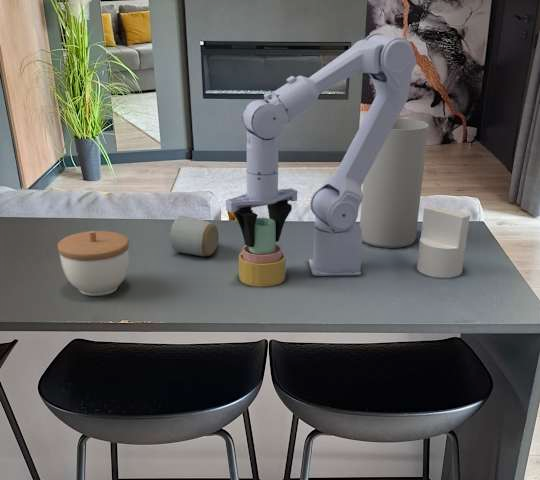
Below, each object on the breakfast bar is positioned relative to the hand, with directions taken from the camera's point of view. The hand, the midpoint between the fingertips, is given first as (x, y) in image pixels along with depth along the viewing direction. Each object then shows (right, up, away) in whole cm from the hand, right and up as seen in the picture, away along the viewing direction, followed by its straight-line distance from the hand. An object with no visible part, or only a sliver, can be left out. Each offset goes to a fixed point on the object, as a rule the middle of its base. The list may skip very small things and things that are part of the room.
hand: (262, 242), depth 135 cm
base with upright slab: (+36, -4, +8) cm, 37 cm away
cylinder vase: (+28, +4, +24) cm, 37 cm away
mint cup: (0, -1, +1) cm, 1 cm away
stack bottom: (0, -6, +4) cm, 7 cm away
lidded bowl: (-31, -9, -2) cm, 32 cm away
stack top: (0, -6, +4) cm, 7 cm away
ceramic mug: (-14, +1, +16) cm, 21 cm away
